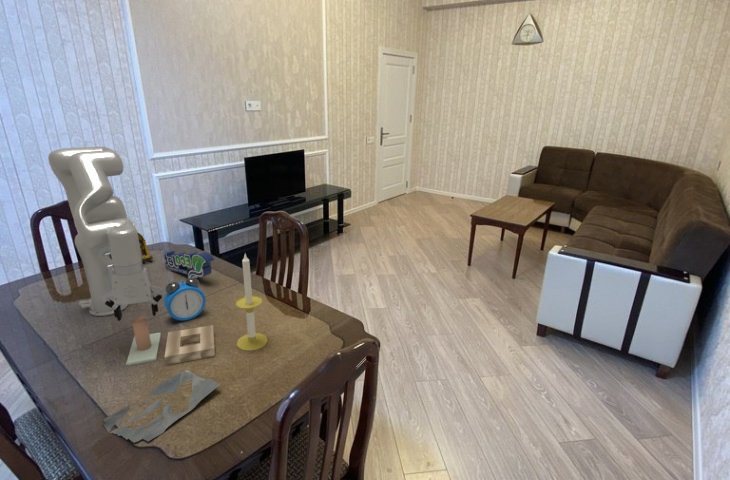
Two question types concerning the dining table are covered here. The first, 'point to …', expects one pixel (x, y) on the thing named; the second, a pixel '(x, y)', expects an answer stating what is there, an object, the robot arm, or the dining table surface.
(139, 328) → the peg
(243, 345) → the candle
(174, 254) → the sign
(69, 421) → the dining table surface
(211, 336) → the pocket frame
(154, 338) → the mat
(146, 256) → the shrine
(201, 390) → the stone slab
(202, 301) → the alarm clock
